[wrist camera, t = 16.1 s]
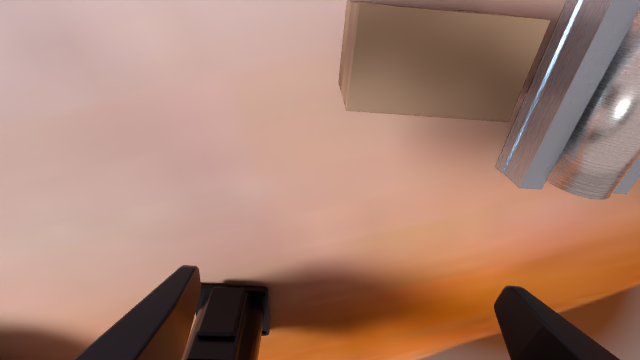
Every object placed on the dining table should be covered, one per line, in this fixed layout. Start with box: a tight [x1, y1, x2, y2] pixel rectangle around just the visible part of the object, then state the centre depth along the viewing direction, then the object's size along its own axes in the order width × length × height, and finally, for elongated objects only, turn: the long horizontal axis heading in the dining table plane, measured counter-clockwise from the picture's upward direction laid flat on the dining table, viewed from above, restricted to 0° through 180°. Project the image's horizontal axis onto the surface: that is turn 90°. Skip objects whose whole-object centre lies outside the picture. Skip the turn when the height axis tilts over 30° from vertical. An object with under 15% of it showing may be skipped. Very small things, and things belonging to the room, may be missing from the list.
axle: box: [547, 9, 640, 199], centre depth 16 cm, size 9×3×3 cm, turn 175°
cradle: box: [495, 0, 640, 194], centre depth 17 cm, size 10×7×3 cm
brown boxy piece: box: [339, 1, 551, 122], centre depth 14 cm, size 4×7×5 cm, turn 86°
